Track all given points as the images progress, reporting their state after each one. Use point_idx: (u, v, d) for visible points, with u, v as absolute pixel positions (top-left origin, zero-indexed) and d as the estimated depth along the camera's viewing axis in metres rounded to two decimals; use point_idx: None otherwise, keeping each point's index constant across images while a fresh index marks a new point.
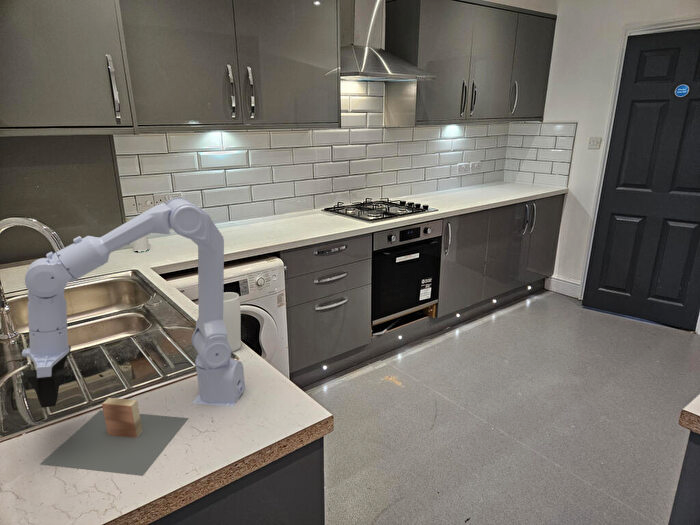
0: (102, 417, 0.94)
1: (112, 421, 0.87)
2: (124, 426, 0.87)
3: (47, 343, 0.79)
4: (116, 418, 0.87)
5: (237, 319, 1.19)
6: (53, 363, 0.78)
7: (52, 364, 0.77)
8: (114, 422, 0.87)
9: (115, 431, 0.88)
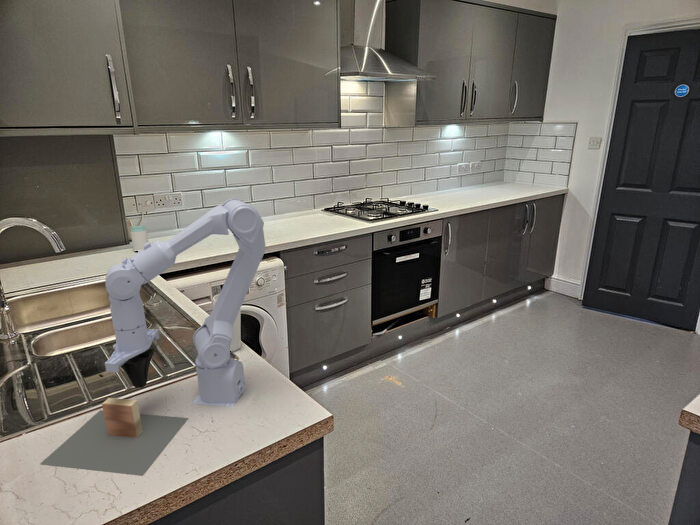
0: (102, 417, 0.94)
1: (112, 421, 0.87)
2: (124, 426, 0.87)
3: (123, 341, 0.87)
4: (116, 418, 0.87)
5: (237, 319, 1.19)
6: (121, 360, 0.85)
7: (119, 361, 0.84)
8: (114, 422, 0.87)
9: (115, 431, 0.88)
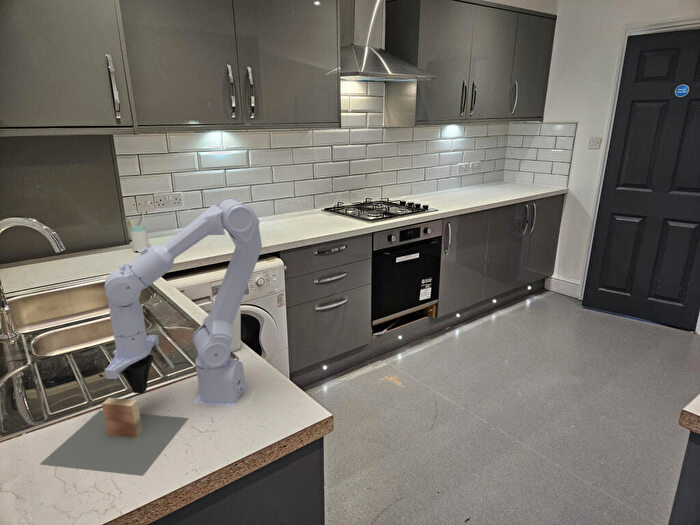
0: (102, 417, 0.94)
1: (112, 421, 0.87)
2: (124, 426, 0.87)
3: (122, 347, 0.87)
4: (116, 418, 0.87)
5: (237, 319, 1.19)
6: (121, 367, 0.85)
7: (119, 368, 0.84)
8: (114, 422, 0.87)
9: (115, 431, 0.88)
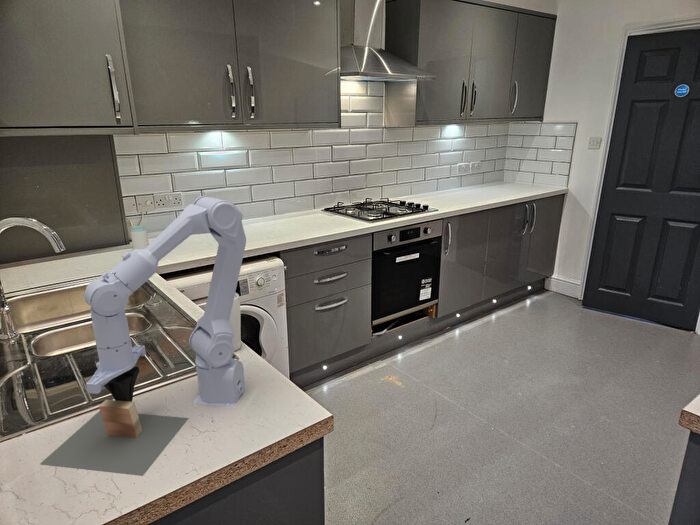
0: None
1: (111, 422, 0.87)
2: (123, 427, 0.87)
3: (106, 359, 0.82)
4: (114, 420, 0.86)
5: (237, 319, 1.19)
6: (103, 380, 0.80)
7: (101, 382, 0.80)
8: (113, 423, 0.87)
9: (115, 431, 0.87)
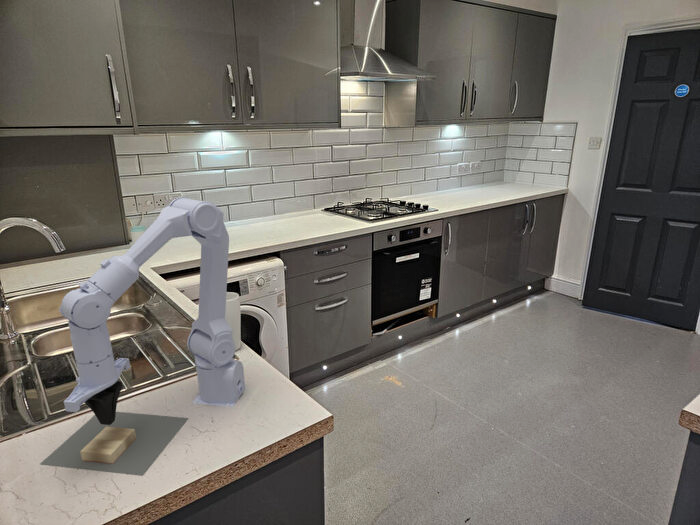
0: None
1: None
2: None
3: (85, 375, 0.77)
4: None
5: (237, 319, 1.19)
6: (82, 398, 0.75)
7: (80, 399, 0.75)
8: None
9: None
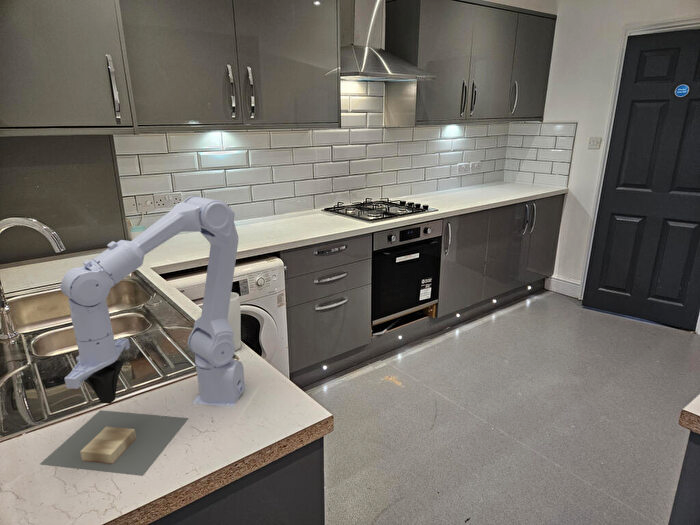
0: (102, 417, 0.94)
1: None
2: None
3: (86, 353, 0.78)
4: None
5: (237, 319, 1.19)
6: (83, 375, 0.76)
7: (81, 376, 0.75)
8: None
9: None
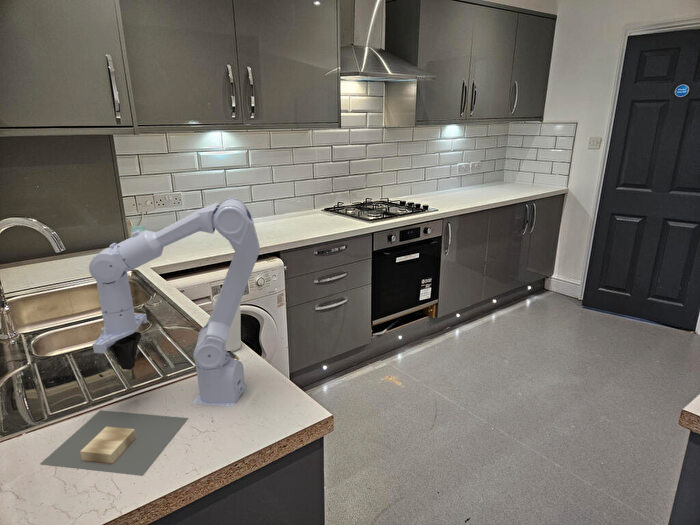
0: (102, 417, 0.94)
1: None
2: None
3: (110, 323, 0.89)
4: None
5: (237, 319, 1.19)
6: (108, 342, 0.87)
7: (106, 342, 0.87)
8: None
9: None
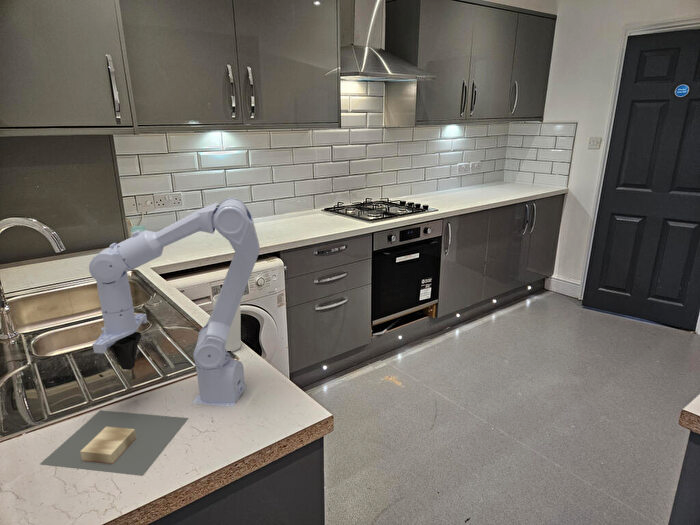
0: (102, 417, 0.94)
1: None
2: None
3: (110, 323, 0.89)
4: None
5: (237, 319, 1.19)
6: (108, 342, 0.87)
7: (106, 342, 0.87)
8: None
9: None
